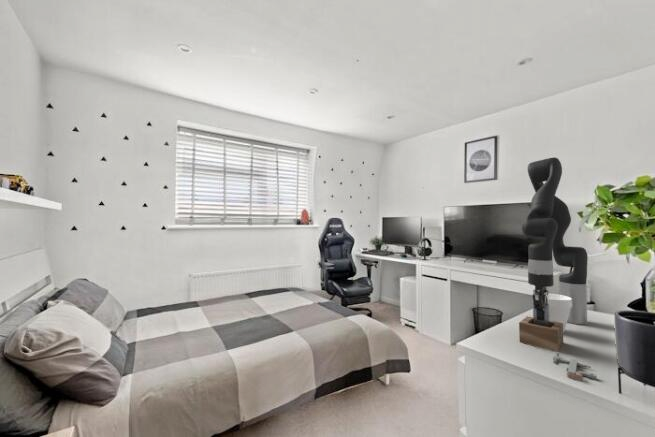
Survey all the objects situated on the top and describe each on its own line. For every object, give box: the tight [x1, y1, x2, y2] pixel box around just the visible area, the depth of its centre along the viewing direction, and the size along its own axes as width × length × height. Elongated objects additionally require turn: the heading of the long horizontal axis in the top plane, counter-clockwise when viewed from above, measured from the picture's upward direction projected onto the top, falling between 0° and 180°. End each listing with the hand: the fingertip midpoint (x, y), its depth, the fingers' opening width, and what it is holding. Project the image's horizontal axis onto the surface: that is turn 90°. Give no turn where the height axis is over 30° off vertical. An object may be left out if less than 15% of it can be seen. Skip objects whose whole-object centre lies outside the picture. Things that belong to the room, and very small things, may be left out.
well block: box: [518, 315, 564, 353], centre depth 104 cm, size 11×11×7 cm
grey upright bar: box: [532, 302, 550, 327], centre depth 105 cm, size 4×4×12 cm
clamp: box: [552, 352, 598, 382], centre depth 85 cm, size 15×2×10 cm
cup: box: [548, 292, 572, 334], centre depth 117 cm, size 12×12×14 cm
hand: (541, 319), depth 105 cm, fingers closed on grey upright bar, 2 cm apart
